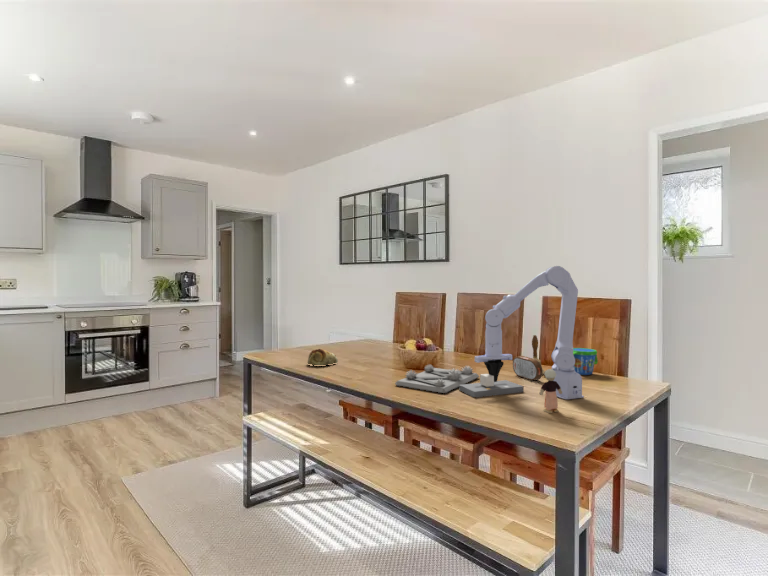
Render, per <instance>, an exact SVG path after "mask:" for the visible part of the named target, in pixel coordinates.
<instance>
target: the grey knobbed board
mask: <svg viewBox="0 0 768 576" xmlns="http://www.w3.org/2000/svg"><path fill="white" fill-rule="evenodd" d="M451 368H452V369H447V368H440V367H438V368H437V367H435V366H433V365H431V364H427V365H425V366H424V370H423V371H422V372H416V371H415V370H412V369H410V370H409V371H408V370H407V371H406V374H404V378H402V379H399V380H397V381H395V383H394V384H395V385H397V386H396V387H400V386H403V387H402V388H405V387H409V388H408V389H411V388H414V389H413V390H417V389H420V390H419V391H423V390H426V391H425V392H428V391H432V392H431V393H434V392H438V393H437V394H440V393H445V394H447V393H449V392H452V391H453V389H454V390H455V389H459V385H463V384H466V383H467V384H469V383H470V382H473V381H475V380H478V379H479V378H480V374H478V373H476V372H473V370H474V368H472V366H471V365H464V366H461V367H460V369H461V370H460V369H459V368H457V369H456V368H455V367H454V368H453V367H451ZM468 382H469V383H468ZM451 390H452V391H451Z"/></svg>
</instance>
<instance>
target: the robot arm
mask: <svg viewBox="0 0 768 576" xmlns="http://www.w3.org/2000/svg"><path fill="white" fill-rule="evenodd" d="M549 285H551V286H552V287H554V288H555V289H556V290H557V291H558V292H559V293H560V294H561V301H560V303H561V304H560V310H559V311H560V312H559V322H558V331H557V339H556V341H555V346H554V349H553V351H552V353H551V360H552V362H553V365H552V366H551V369H553V370H554V371H555V373H556V377H555V379H554V380H553V381H556V382H557V383H558V384H559V386H560V387H561V391H562V394H559V391H558V390H557V389H556V395H557V398H560V399H562V400H574V399H580V398H581V399H583V398H584V397H585V396H584V395H583V377H582V375H580V374H579V373H576V372H575V370H574V367H573V366H574V365H575V358H574V355H573V348H574V344H573V343H574V342H573V341H574V340H573V339H574V331H575V322H576V315H577V314H576V311H577V304H578V297H579V296H578V294H579V290H578V287H577V284H576V283H575V281H574V279H573V278H572V276H571V274H570V272H569V271H568V270H566V269H565V268H564V267H563V266H560V265H554V266H550V267H548V268H546V269H545V271H544V270H543V271H542V272H541V273H539V274H537V275H536V276H534V277H533V278H532V279H530V280H529V282H527V283H526V284H525V285H523V286H522V288H520V289H519V290H518V291H517V292H516V293H514V294H511V293H510V294H507V295H506V294H505V295H503V296H502V299H501V301H499V302H498V303H497V304H493V305H492V309H489V310H488V311H487V312H486V314H485V317H484V318H485V322H486V323H485V333H484V334H485V335H484V336H485V340H484V341H485V342H484V343H485V349H484V350H485V354H483V355H482V354H481V355H475V356H474V362H475V363H478V364H479V363H484V366H485V367H486V370H487V372H488V374H490V375H492V376H494V382H497V381H498V379H499V375H500V371H501V370H502V368H503V366H504V361H513V354H511V353H503V330H502V323H503V320H504V319H507V318H509V316H511V315H512V314H513V313H514V312H515V311H517V310H518V309H519V308H520V307H521V302H522V301H523V300H524V299H525V298H527V297H528V296H529V295H531V294H532V293H533V292H535V291H536V290H537V289H539V288H542V287H546V286H549Z"/></svg>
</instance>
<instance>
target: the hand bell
mask: <svg viewBox="0 0 768 576" xmlns="http://www.w3.org/2000/svg"><path fill="white" fill-rule="evenodd" d="M531 346H532V350H533V351H532V358H533V359H536V360H537V361H538V362H539V363H540V364H541V367H542V360H541V359H539V358H538V348H539V339H538V336H537V335H535V334H534V335H532V339H531ZM542 371H543V373H542V375H545V371H546V370H544V369H543V367H542Z"/></svg>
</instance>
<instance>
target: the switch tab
mask: <svg viewBox="0 0 768 576" xmlns="http://www.w3.org/2000/svg"><path fill="white" fill-rule="evenodd" d="M479 381H480V382H479V383H480V384H481V385H483V386H486V387H489V386H494V376H492V375H490V374H489V373H481V374H479Z"/></svg>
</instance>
